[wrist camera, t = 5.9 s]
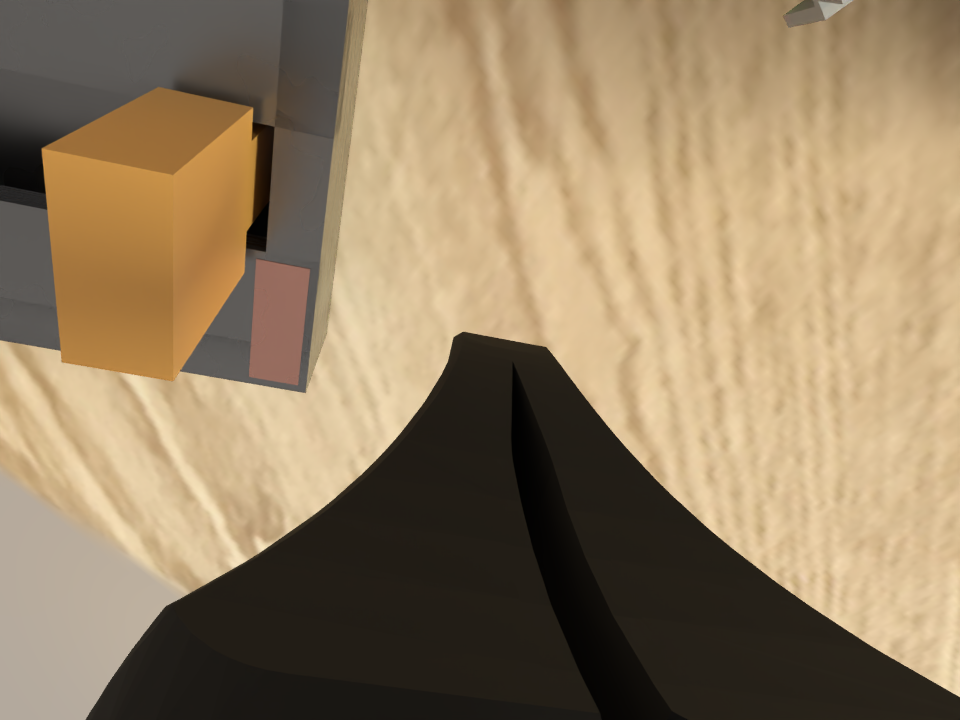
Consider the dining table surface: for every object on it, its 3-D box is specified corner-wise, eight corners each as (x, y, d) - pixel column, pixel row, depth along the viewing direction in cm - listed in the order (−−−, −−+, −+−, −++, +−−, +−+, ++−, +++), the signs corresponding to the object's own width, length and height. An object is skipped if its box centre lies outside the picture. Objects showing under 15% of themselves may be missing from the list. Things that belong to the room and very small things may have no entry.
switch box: (326, 334, 21) (305, 393, 18) (-125, 251, 19) (-218, 302, 17) (375, -62, 16) (356, -59, 13) (-232, -213, 14) (-388, -242, 12)
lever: (274, 227, 18) (173, 381, 12) (201, 212, 18) (61, 362, 12) (285, 80, 17) (173, 175, 10) (204, 62, 16) (41, 148, 10)
